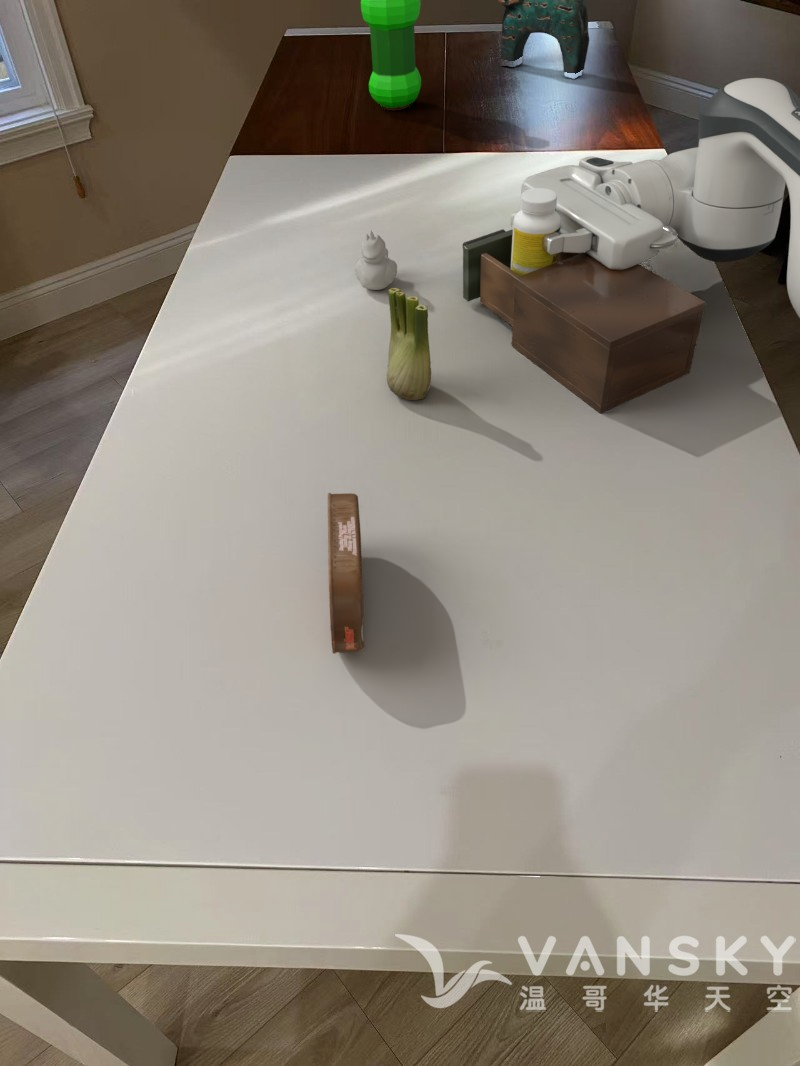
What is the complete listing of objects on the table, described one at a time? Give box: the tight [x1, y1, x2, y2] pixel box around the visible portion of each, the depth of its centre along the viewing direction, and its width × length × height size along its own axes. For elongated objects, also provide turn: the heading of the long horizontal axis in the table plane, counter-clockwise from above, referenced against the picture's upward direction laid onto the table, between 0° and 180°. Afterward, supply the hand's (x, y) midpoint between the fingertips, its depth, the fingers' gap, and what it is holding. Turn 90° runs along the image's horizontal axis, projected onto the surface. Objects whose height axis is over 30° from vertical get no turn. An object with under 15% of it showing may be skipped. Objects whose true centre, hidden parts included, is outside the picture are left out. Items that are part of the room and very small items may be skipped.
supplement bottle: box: [511, 188, 561, 276], centre depth 95 cm, size 5×5×10 cm
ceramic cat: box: [496, 0, 590, 74], centre depth 159 cm, size 20×6×20 cm, turn 50°
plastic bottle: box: [360, 0, 422, 108], centre depth 147 cm, size 10×10×25 cm
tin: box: [327, 492, 365, 655], centre depth 68 cm, size 15×3×8 cm, turn 4°
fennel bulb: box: [386, 287, 432, 401], centre depth 88 cm, size 6×5×12 cm
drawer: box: [462, 228, 584, 327], centre depth 100 cm, size 19×12×7 cm, turn 31°
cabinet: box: [511, 252, 707, 414], centre depth 91 cm, size 16×13×9 cm
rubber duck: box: [354, 229, 398, 291], centre depth 106 cm, size 5×7×8 cm
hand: (529, 233), depth 94 cm, fingers closed on supplement bottle, 5 cm apart
